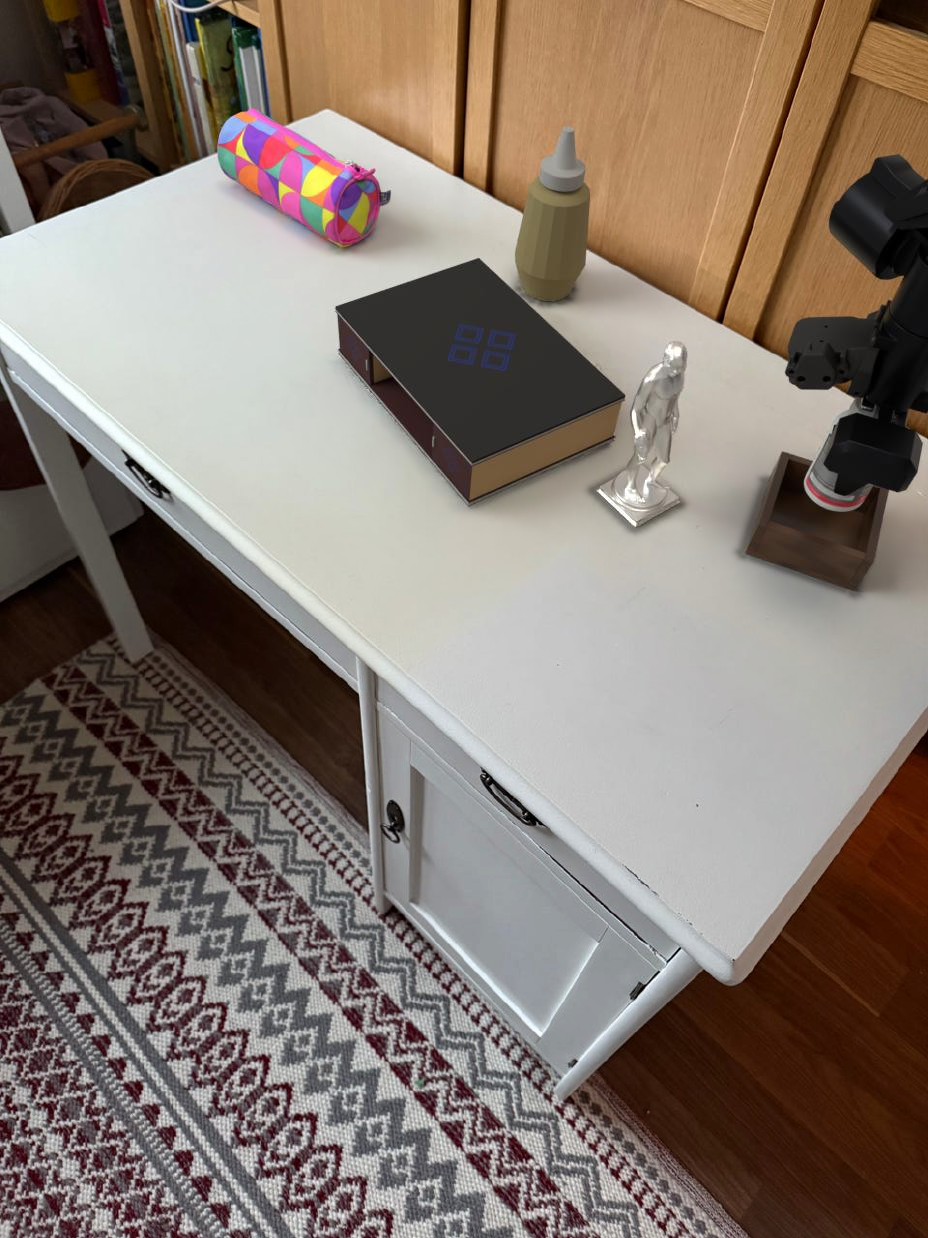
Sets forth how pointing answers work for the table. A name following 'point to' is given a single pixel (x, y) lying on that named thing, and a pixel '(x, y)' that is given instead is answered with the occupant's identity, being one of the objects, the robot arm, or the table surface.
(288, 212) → the pencil case
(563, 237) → the squeeze bottle
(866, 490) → the pill bottle
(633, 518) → the figurine
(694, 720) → the table surface
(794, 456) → the holder
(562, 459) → the book
